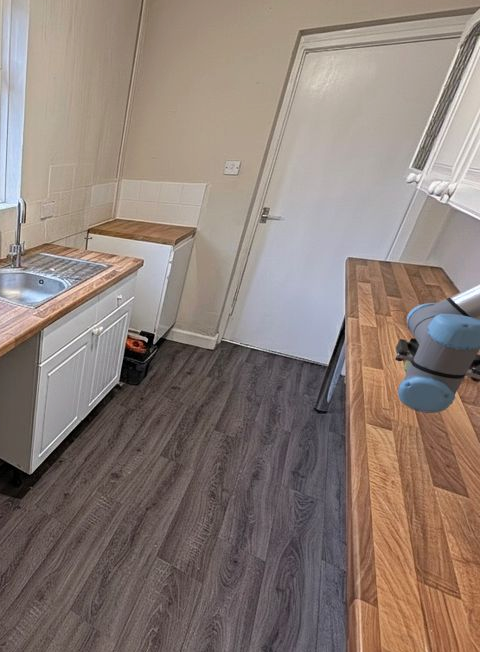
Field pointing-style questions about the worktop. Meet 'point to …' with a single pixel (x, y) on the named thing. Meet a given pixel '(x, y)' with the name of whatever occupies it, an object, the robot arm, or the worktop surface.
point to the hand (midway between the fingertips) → (446, 345)
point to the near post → (407, 365)
